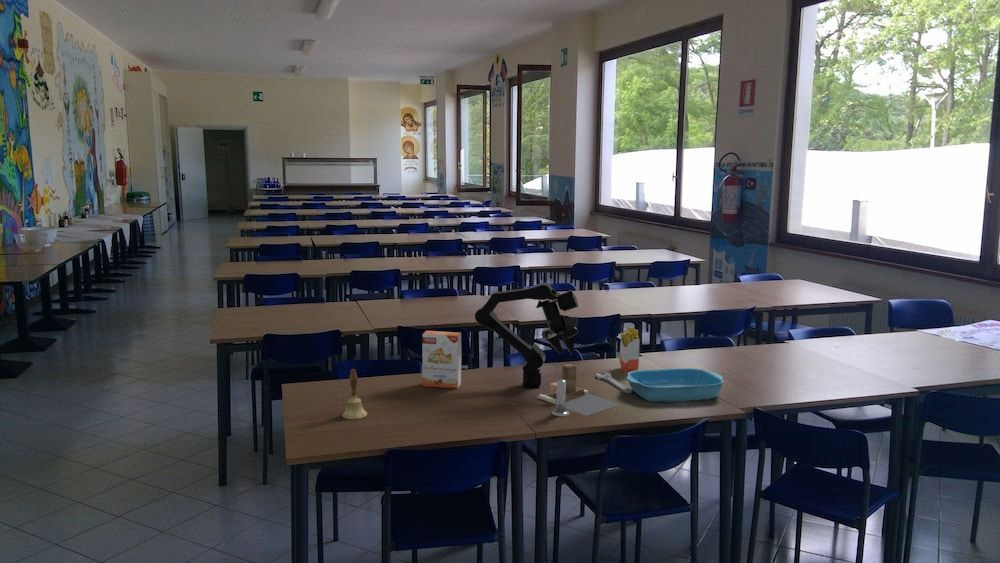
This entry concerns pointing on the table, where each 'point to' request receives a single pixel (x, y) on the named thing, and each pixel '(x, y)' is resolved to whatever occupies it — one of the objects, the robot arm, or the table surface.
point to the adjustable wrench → (613, 381)
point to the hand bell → (354, 401)
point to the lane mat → (583, 403)
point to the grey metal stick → (561, 399)
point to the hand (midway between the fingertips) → (566, 353)
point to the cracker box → (441, 359)
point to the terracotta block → (553, 388)
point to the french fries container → (629, 350)
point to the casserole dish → (675, 384)
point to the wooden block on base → (570, 382)
